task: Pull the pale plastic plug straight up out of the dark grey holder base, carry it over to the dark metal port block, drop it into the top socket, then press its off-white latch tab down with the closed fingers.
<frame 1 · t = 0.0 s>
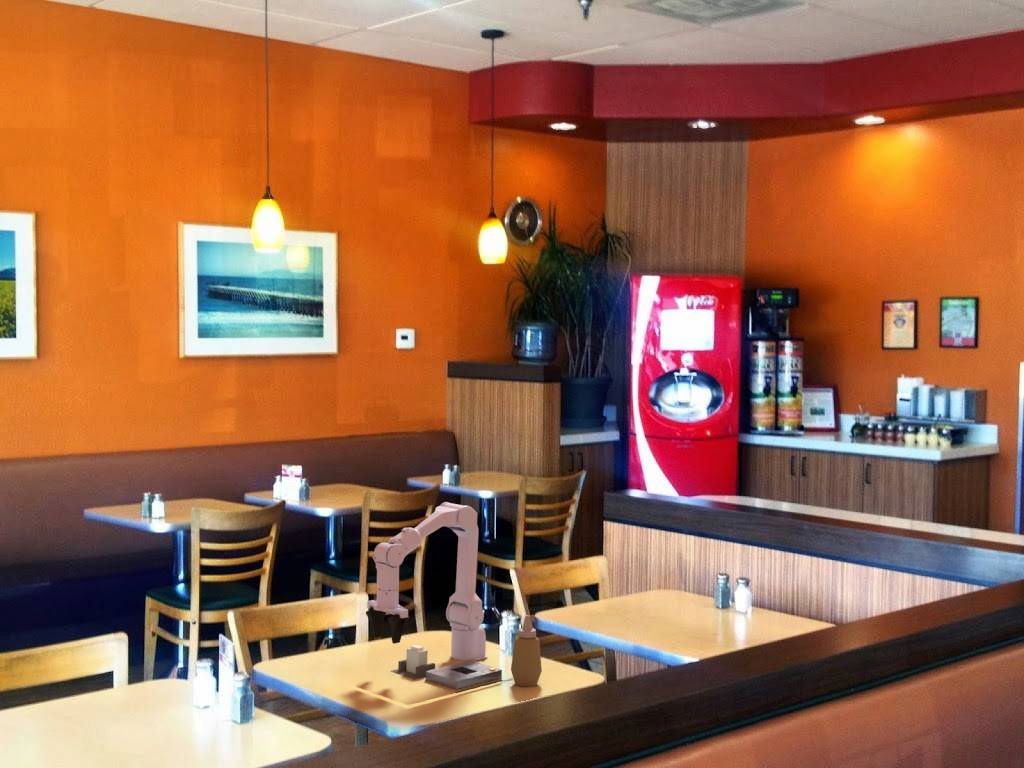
hand: (386, 639, 332), 10 cm above the table, fingers open, 7 cm apart
port block: (463, 681, 330), on the table
plug: (416, 671, 336), point 1 cm above the table, touching dark grey holder base
dark grey holder base: (416, 674, 336), on the table
squeeze bottle: (525, 684, 330), on the table
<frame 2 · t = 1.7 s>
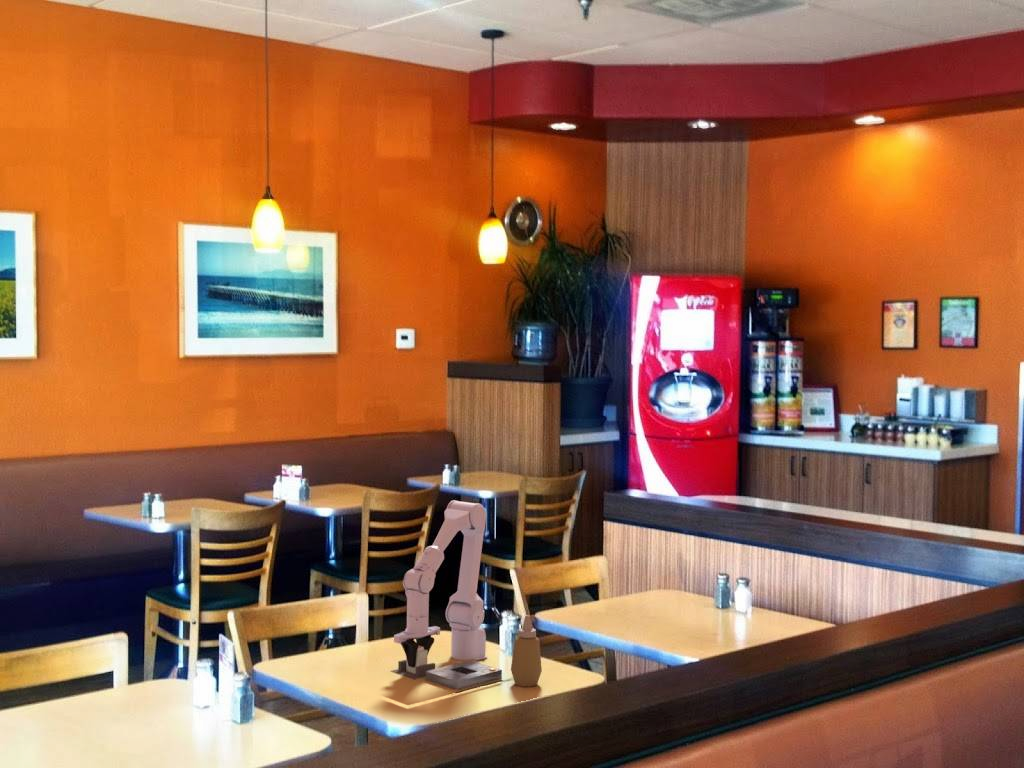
hand: (416, 665, 336), 3 cm above the table, fingers closed on plug, 3 cm apart
plug: (416, 671, 336), point 1 cm above the table, touching gripper, dark grey holder base
everything else where it was.
when the fingers open (3 cm above the table, at t = 5.4 s): plug drops 3 cm, resting in port block.
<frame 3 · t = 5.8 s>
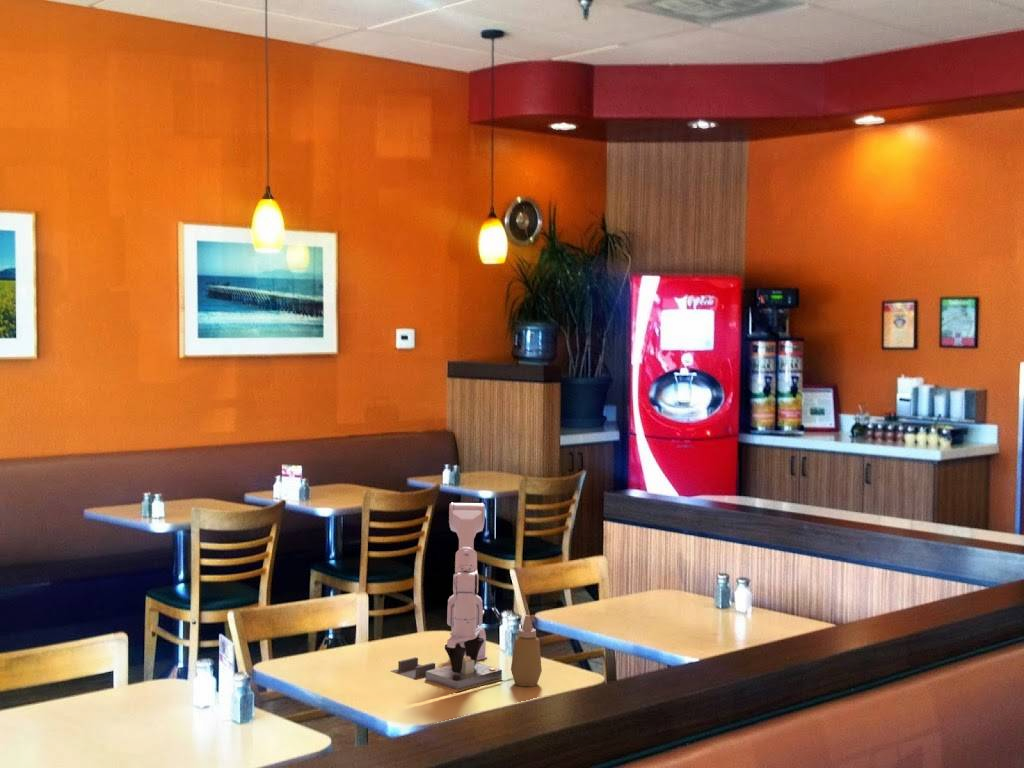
hand: (464, 669, 330), 3 cm above the table, fingers open, 7 cm apart
plug: (463, 682, 330), resting in port block
everything else where it was.
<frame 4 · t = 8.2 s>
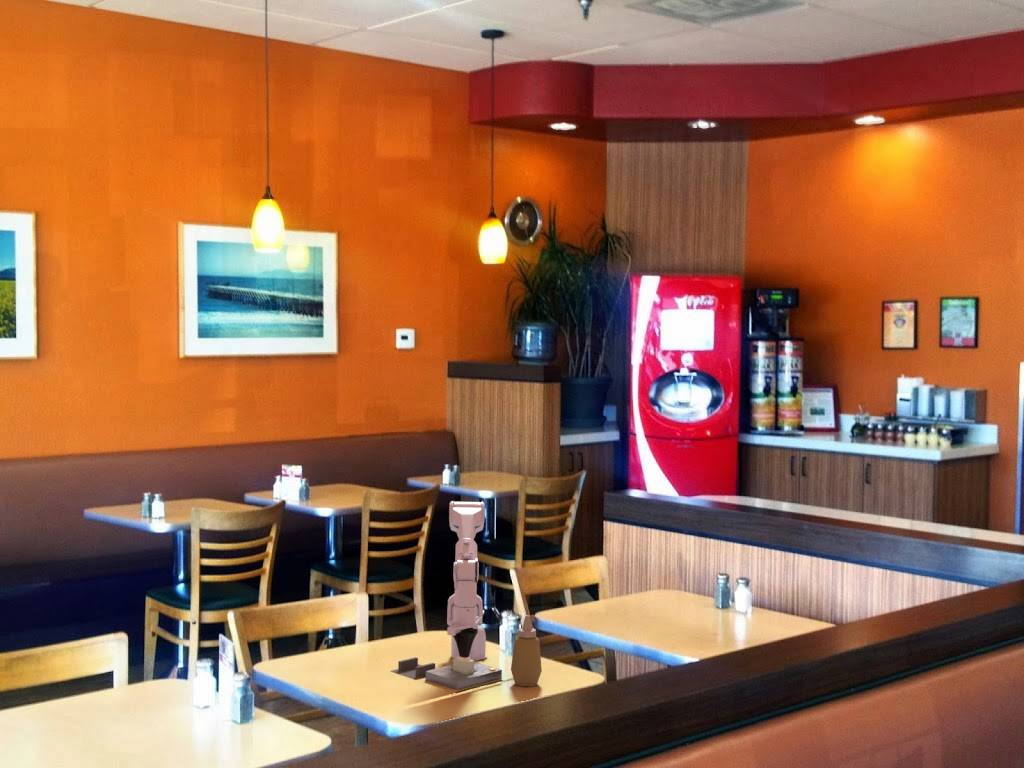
hand: (464, 656, 330), 7 cm above the table, fingers closed, pressing on plug
plug: (463, 682, 330), resting in port block, touching gripper
everything else where it was.
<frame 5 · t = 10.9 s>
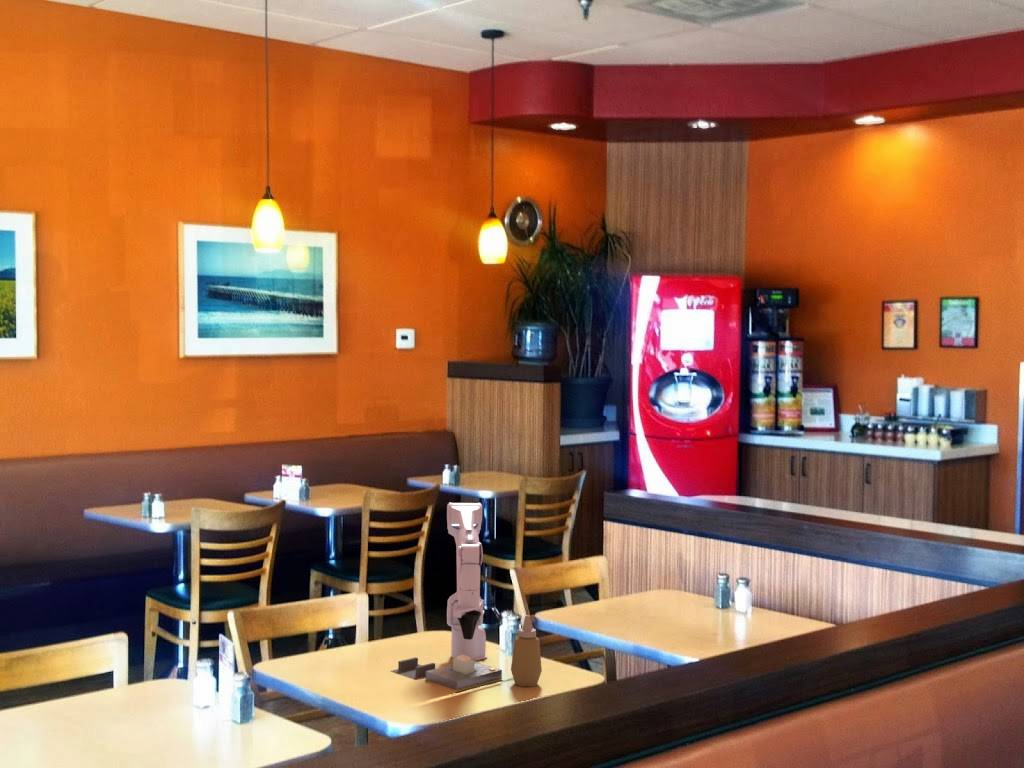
hand: (468, 638, 337), 9 cm above the table, fingers closed
plug: (463, 682, 330), resting in port block
everything else where it was.
at the end: plug 0.1 cm off-centre on the port block, point 0.0 cm above the port block's base; plug tilted 0°; the gripper is holding nothing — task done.
